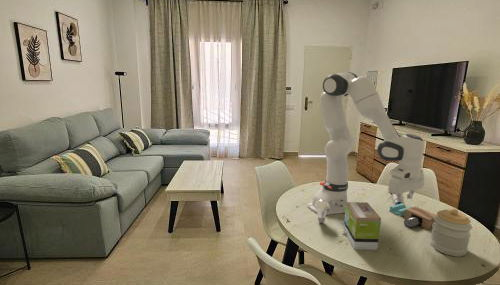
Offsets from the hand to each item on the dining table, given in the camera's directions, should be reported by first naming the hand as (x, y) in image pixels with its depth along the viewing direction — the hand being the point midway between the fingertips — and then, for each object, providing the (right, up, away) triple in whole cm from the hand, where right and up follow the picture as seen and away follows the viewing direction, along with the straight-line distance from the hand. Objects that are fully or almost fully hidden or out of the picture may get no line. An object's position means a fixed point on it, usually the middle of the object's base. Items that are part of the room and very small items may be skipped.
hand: (404, 199), depth 128 cm
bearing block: (+14, -14, +10) cm, 22 cm away
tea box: (-23, -17, -6) cm, 29 cm away
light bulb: (-36, -13, +8) cm, 39 cm away
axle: (+12, -14, +9) cm, 20 cm away
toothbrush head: (+16, -8, +39) cm, 42 cm away
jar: (+12, -18, -10) cm, 24 cm away
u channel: (+10, -11, +21) cm, 26 cm away
